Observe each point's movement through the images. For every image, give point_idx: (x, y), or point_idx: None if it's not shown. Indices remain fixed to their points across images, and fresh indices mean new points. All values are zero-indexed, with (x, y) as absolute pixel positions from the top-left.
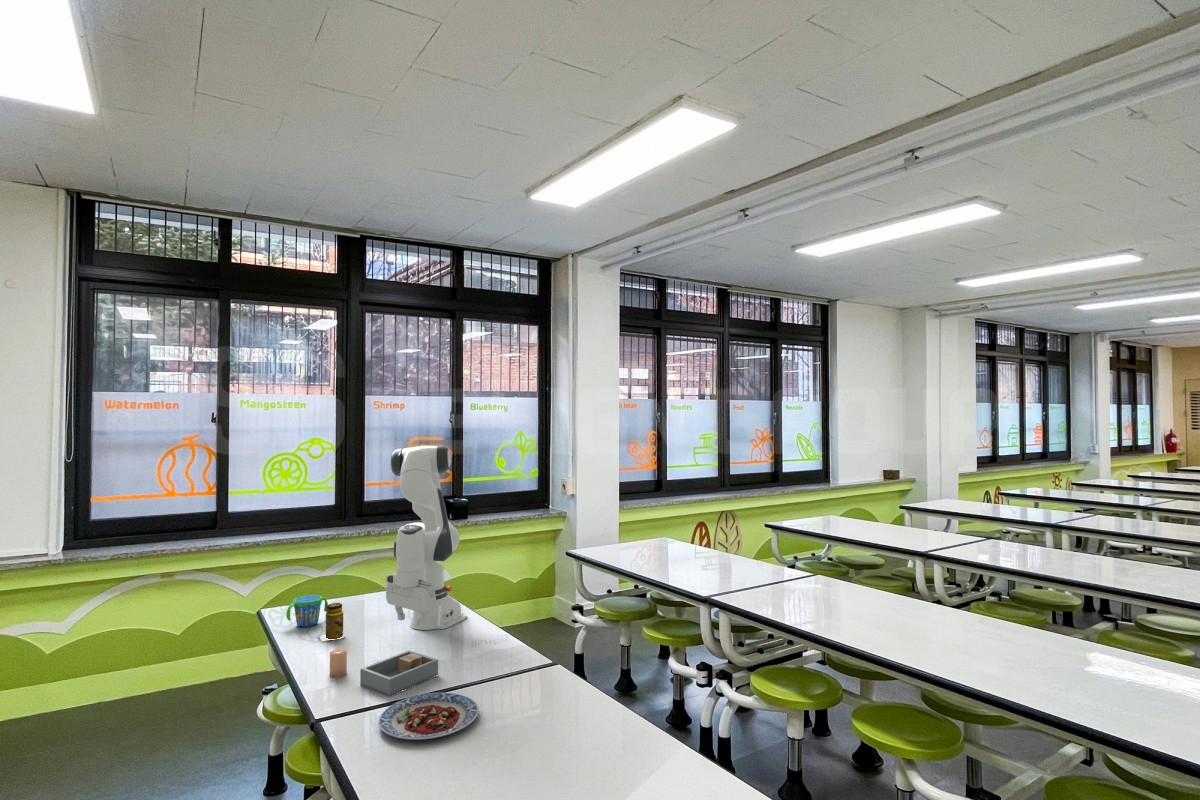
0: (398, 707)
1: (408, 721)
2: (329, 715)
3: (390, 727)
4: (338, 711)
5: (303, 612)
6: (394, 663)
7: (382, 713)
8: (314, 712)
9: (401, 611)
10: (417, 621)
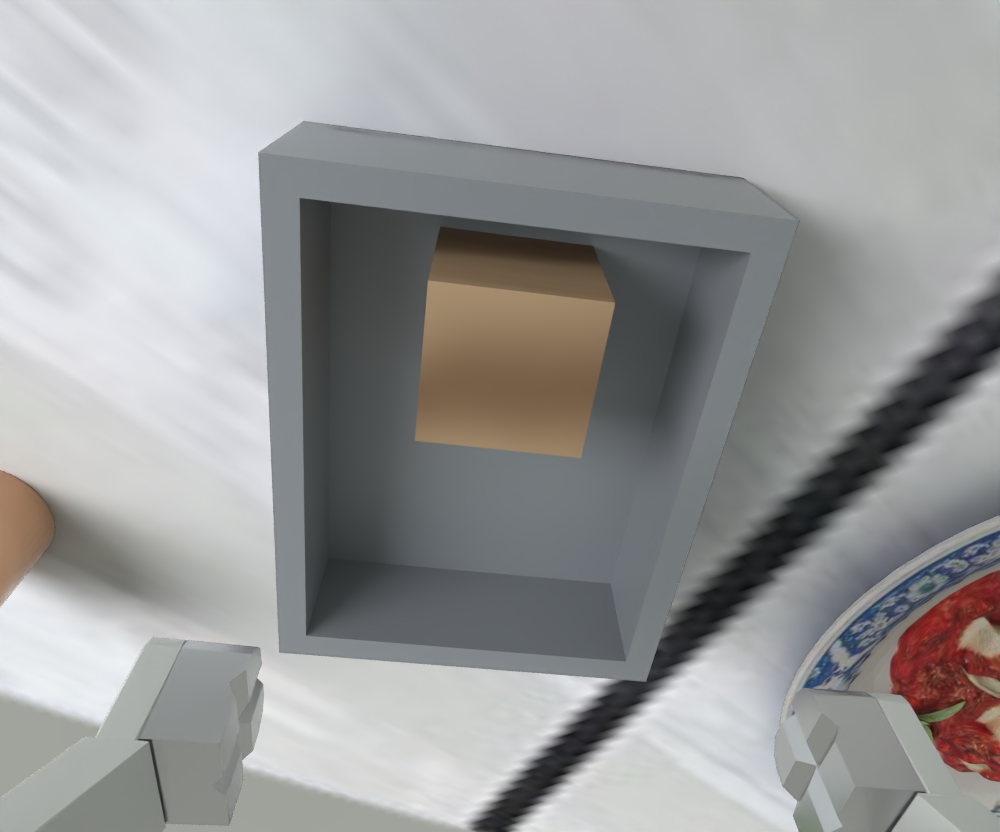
0: None
1: (959, 757)
2: (492, 799)
3: None
4: (496, 769)
5: None
6: (315, 354)
7: None
8: (400, 807)
9: (105, 814)
10: (804, 826)
